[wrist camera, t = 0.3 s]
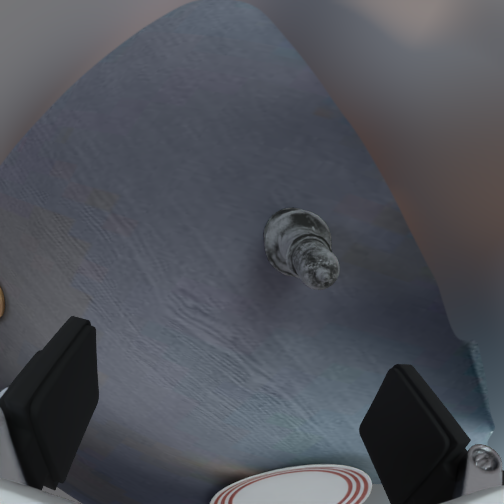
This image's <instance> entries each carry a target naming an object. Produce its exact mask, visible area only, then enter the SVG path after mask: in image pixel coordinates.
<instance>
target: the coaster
mask: <svg viewBox="0 0 504 504" xmlns="http://www.w3.org/2000/svg"><path fill="white" fill-rule="evenodd" d="M4 310H5V300H4V295H3V292H2V289H1V287H0V318H1V317H2V315H3V313H4Z"/></svg>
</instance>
